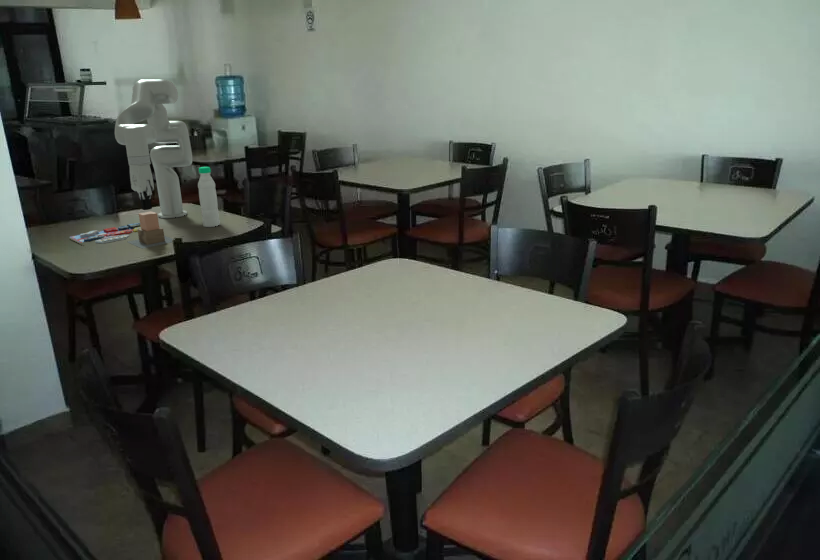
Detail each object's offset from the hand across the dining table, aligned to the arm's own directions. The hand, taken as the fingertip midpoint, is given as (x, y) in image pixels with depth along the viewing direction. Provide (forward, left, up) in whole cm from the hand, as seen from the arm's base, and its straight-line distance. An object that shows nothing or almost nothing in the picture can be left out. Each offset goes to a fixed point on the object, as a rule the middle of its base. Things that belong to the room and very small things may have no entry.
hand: (147, 209), depth 234 cm
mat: (0, 0, -14) cm, 14 cm away
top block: (0, 0, -8) cm, 8 cm away
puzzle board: (-22, -4, -15) cm, 27 cm away
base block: (0, 0, -13) cm, 13 cm away
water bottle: (-9, +30, -14) cm, 34 cm away
